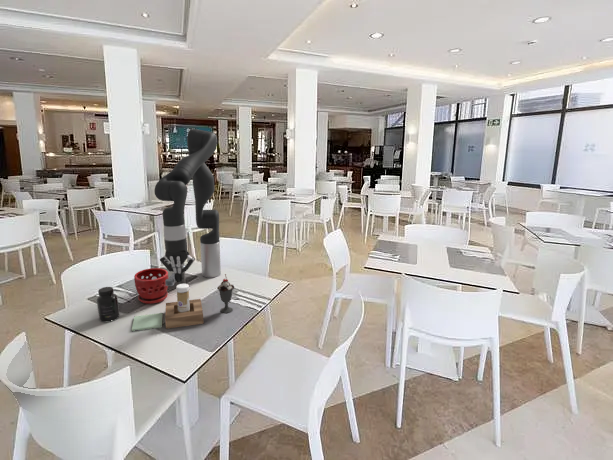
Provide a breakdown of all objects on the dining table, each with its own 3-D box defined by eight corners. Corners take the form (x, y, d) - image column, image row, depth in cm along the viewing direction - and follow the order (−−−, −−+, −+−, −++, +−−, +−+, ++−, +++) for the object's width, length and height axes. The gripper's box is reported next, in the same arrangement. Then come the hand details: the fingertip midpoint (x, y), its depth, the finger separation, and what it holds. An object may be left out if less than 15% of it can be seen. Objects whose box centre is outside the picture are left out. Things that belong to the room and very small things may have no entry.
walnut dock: (166, 305, 147) (164, 270, 143) (200, 301, 152) (198, 267, 148) (165, 328, 130) (162, 289, 126) (203, 323, 134) (201, 285, 130)
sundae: (228, 304, 149) (227, 271, 146) (238, 310, 145) (237, 276, 141) (214, 309, 145) (213, 275, 141) (223, 315, 140) (222, 280, 136)
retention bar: (178, 268, 145) (178, 264, 144) (186, 269, 145) (186, 264, 144) (164, 285, 129) (164, 280, 128) (173, 285, 129) (173, 280, 128)
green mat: (134, 318, 137) (134, 316, 137) (162, 314, 140) (162, 312, 140) (131, 331, 128) (131, 329, 127) (161, 327, 131) (161, 325, 131)
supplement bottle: (100, 315, 138) (96, 286, 135) (120, 312, 141) (116, 284, 138) (98, 323, 132) (94, 294, 129) (118, 320, 135) (115, 291, 132)
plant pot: (129, 302, 150) (126, 275, 147) (155, 290, 161) (153, 265, 158) (151, 309, 144) (148, 282, 141) (176, 297, 155) (174, 271, 152)
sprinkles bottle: (176, 320, 136) (174, 287, 133) (180, 314, 140) (178, 282, 137) (188, 320, 136) (186, 288, 132) (192, 315, 140) (190, 283, 137)
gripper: (197, 234, 130) (200, 278, 135) (162, 233, 132) (167, 277, 136) (189, 240, 123) (193, 286, 128) (152, 239, 124) (157, 285, 129)
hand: (179, 281), depth 132 cm, fingers closed
